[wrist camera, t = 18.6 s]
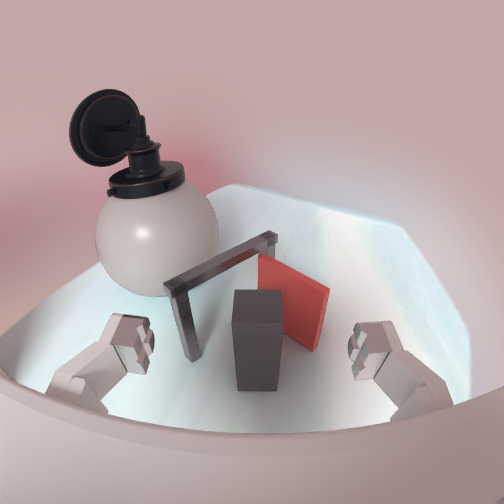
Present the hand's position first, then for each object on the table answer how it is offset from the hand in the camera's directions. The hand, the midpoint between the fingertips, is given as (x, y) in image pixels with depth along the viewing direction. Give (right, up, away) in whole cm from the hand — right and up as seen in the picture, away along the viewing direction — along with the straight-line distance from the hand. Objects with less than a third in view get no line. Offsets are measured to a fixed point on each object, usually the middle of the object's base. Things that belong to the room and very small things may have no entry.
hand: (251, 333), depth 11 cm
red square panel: (+5, -8, +27) cm, 29 cm away
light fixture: (-16, -2, +38) cm, 42 cm away
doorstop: (+1, -12, +22) cm, 25 cm away
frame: (-3, -8, +28) cm, 29 cm away
